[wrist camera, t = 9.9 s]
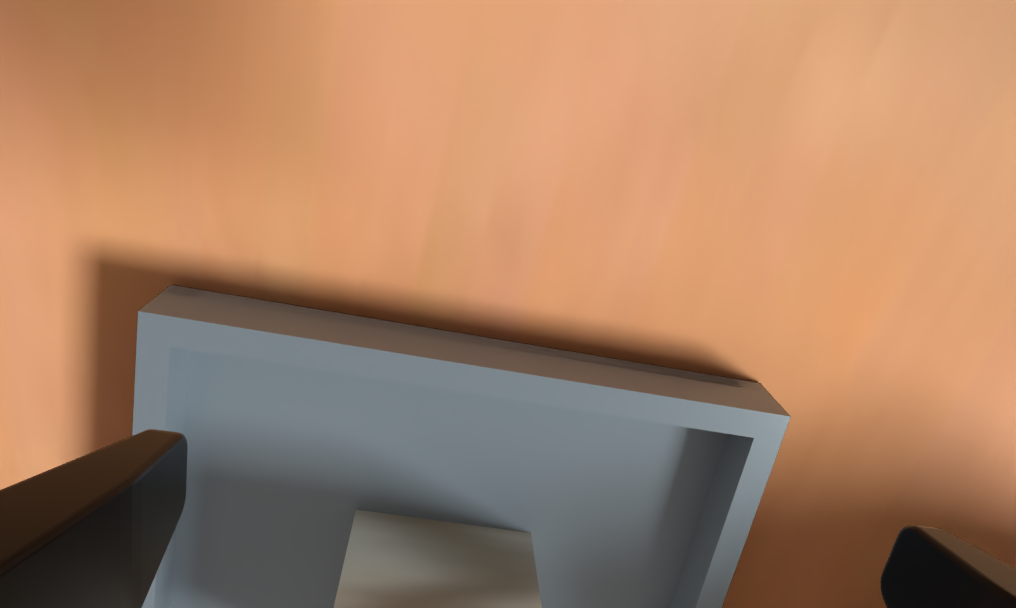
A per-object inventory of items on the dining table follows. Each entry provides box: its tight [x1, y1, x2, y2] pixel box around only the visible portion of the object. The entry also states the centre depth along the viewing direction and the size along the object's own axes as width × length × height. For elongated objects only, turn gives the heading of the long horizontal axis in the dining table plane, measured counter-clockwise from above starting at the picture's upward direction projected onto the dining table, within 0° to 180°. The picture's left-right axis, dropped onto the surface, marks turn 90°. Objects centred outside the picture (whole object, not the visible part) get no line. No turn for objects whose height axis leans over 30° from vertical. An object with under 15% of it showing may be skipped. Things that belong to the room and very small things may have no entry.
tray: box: [132, 285, 791, 608], centre depth 21 cm, size 16×16×2 cm
